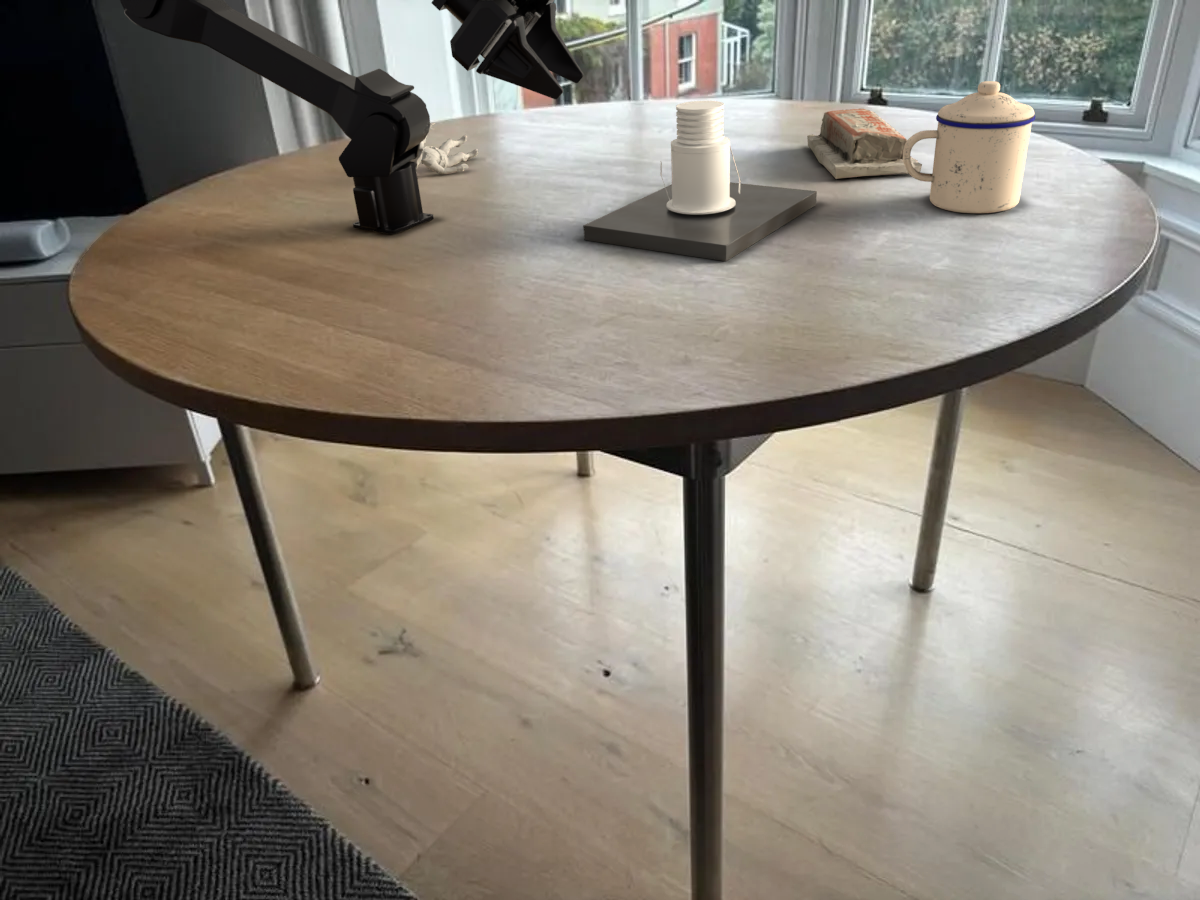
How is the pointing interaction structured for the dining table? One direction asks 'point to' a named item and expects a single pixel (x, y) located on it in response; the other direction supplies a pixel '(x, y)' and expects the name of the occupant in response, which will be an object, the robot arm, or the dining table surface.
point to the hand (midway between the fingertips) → (571, 87)
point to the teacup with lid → (977, 152)
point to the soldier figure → (443, 156)
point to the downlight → (700, 160)
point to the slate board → (702, 222)
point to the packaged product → (859, 145)
